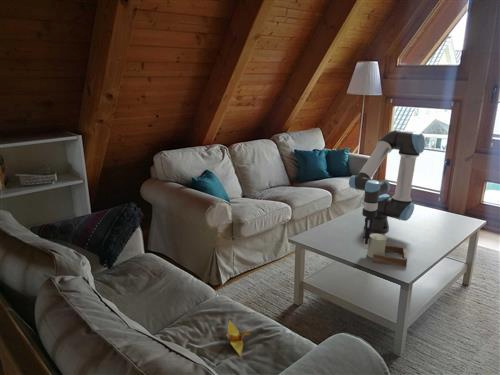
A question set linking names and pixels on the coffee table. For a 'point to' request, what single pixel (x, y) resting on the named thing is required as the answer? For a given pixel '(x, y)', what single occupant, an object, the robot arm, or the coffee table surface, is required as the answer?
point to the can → (376, 245)
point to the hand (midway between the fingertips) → (365, 248)
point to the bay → (392, 259)
